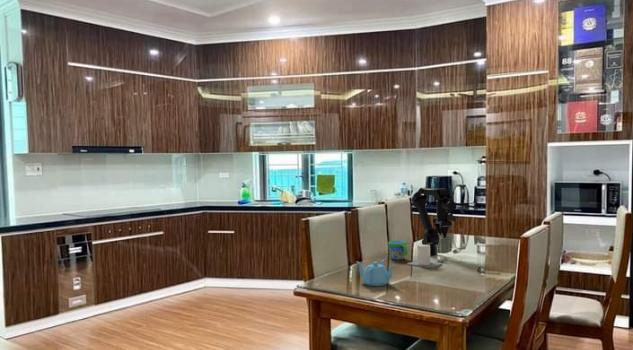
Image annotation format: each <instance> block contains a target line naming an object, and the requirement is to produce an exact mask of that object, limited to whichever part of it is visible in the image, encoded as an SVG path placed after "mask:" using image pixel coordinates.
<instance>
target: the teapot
mask: <svg viewBox="0 0 633 350" xmlns="http://www.w3.org/2000/svg"><path fill="white" fill-rule="evenodd" d="M355 262H356V263H357V264H358V267H359V268H358V269H359V275H360V277H362V278H361V281H362V282H363V283H364V284H365V285H366V286H369V287H383V286H386V285H388V284H389V282H390V280H392V277H393V267H394V266H395V264H391V265H390V266H388V267H389V268H388V270H387V268H386V266H385V258H384V259H381V260H380V263H379V262H378V261H373V262H372V264H368V265H367V266H366V267H365V269H364V268H363V264H362V262H359V261H355Z"/></svg>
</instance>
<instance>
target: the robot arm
mask: <svg viewBox="0 0 633 350" xmlns="http://www.w3.org/2000/svg"><path fill="white" fill-rule="evenodd" d="M428 196H432V197H433V198H435V200H434V202H435V203H436V211H435V214H436V217H434V218H433V219H432V222H431V218H430V216H429V213H428V211H427V207H426V206H427V199H428ZM411 202H412V205H413V207H415V208H416V209H417V212H418V214H419V217H420V220H421V224H422V226H423V229H424V232H423V238H422V240H421V245H430V257H431V256H432V257H433V256H435V255H436V256H438V250H437V245H439V241H440V236H443V238H444V239H446V238H447V235H448V230H449V228H451V227H452V226H453V223H456V222H457V219H458V216H455V215H454V213H451V212H454V211H455V210H456V209H457V204H456V202H455V201H454V199H453V198H452V196H451V195H450V193H449V191H448V189H447V188H446V187H445V188H444V187H443V188H430V187H429V188H428V187H420V188H419V189H418V190H416V192H414V194H413V195H412V197H411ZM432 223H433V224H432ZM433 225H434V227H435V228H434V227H433Z"/></svg>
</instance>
